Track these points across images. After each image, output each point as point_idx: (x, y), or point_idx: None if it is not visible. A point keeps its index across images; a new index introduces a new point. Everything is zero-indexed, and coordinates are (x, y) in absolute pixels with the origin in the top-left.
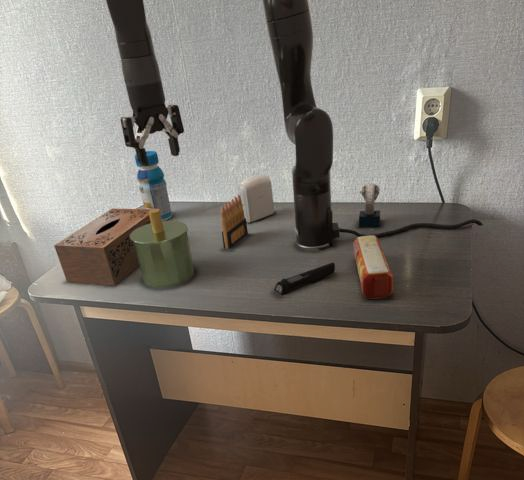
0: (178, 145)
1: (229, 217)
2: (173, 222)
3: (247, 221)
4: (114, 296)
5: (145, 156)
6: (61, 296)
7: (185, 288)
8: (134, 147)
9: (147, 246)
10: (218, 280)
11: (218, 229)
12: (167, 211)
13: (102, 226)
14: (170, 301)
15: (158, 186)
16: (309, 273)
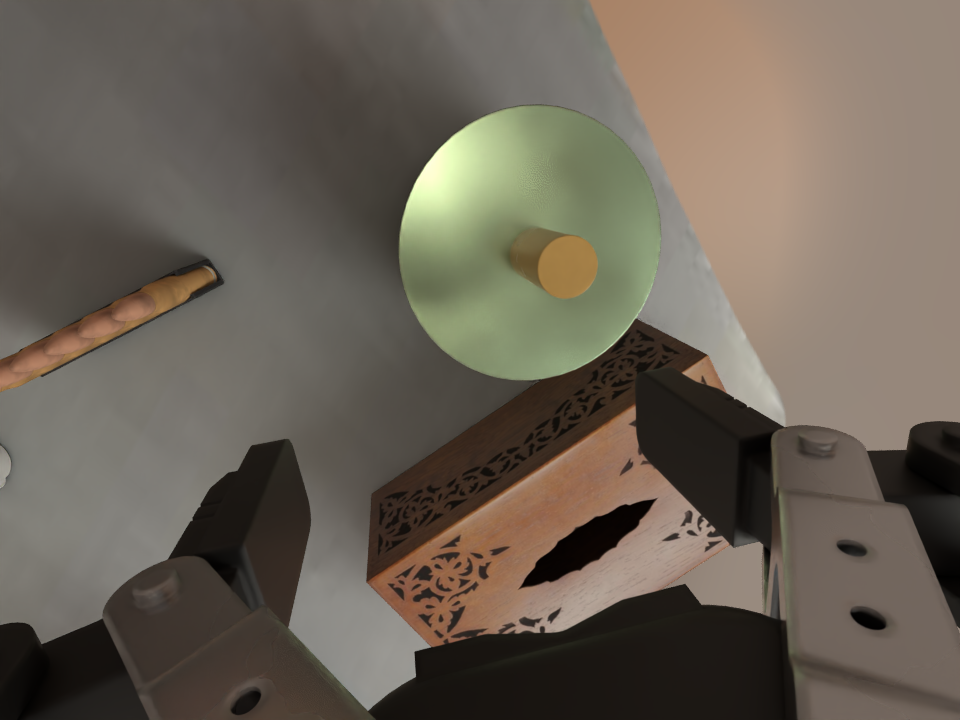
0: (198, 520)
1: (114, 304)
2: (431, 301)
3: (1, 449)
4: (668, 250)
5: (699, 396)
6: (753, 370)
7: (494, 107)
8: (922, 425)
9: None
10: (376, 57)
11: (148, 471)
12: None
13: (600, 558)
14: (578, 61)
15: None
16: None
